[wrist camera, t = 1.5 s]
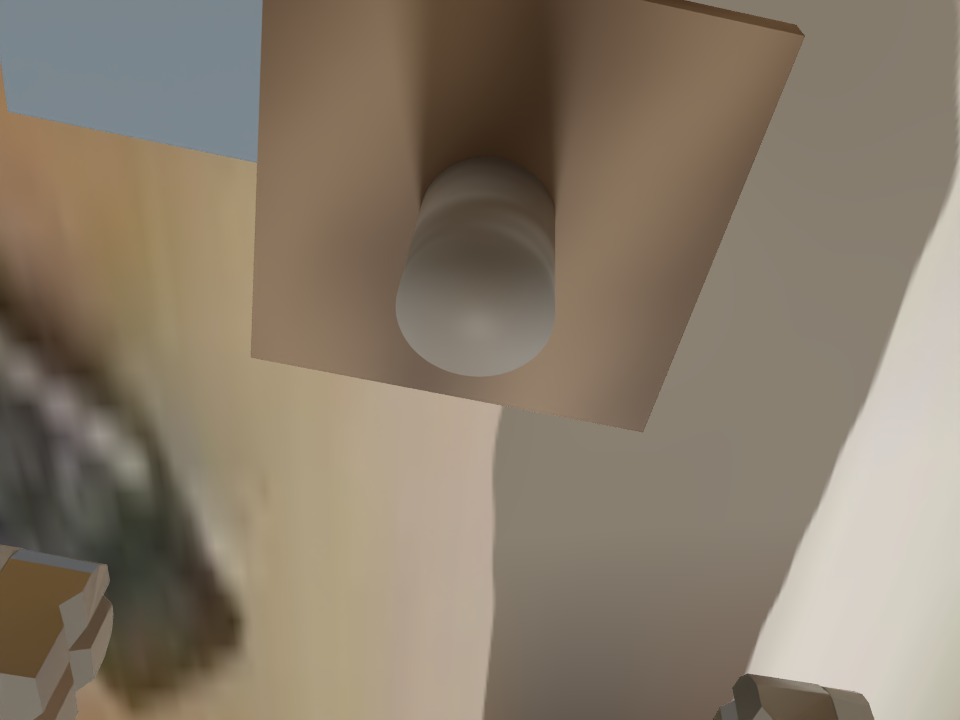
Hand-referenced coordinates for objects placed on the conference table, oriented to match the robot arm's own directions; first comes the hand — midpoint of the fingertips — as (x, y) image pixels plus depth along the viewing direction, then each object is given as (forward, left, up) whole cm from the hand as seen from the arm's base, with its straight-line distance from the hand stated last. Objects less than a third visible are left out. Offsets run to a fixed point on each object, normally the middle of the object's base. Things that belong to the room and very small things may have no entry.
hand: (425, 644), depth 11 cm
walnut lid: (0, 0, -13) cm, 13 cm away
